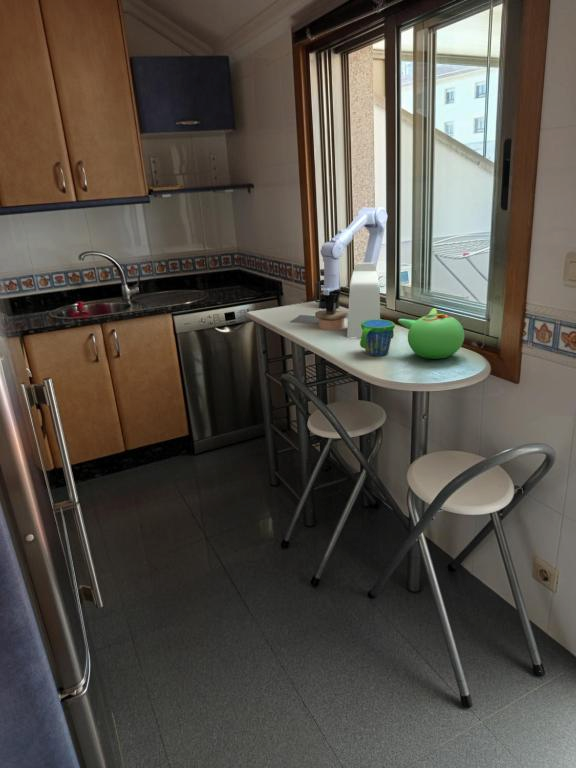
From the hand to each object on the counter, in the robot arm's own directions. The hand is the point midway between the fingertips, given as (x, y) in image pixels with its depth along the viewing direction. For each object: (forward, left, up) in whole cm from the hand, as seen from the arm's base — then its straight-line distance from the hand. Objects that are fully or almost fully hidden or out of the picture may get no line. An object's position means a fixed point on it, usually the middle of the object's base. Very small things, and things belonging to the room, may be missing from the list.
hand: (331, 310), depth 209 cm
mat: (+12, -9, -7) cm, 17 cm away
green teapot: (-42, +27, -7) cm, 50 cm away
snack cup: (-24, +28, -7) cm, 38 cm away
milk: (-14, +5, -7) cm, 17 cm away
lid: (0, 0, -2) cm, 2 cm away
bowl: (0, 0, -7) cm, 7 cm away
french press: (+12, -35, -7) cm, 38 cm away
